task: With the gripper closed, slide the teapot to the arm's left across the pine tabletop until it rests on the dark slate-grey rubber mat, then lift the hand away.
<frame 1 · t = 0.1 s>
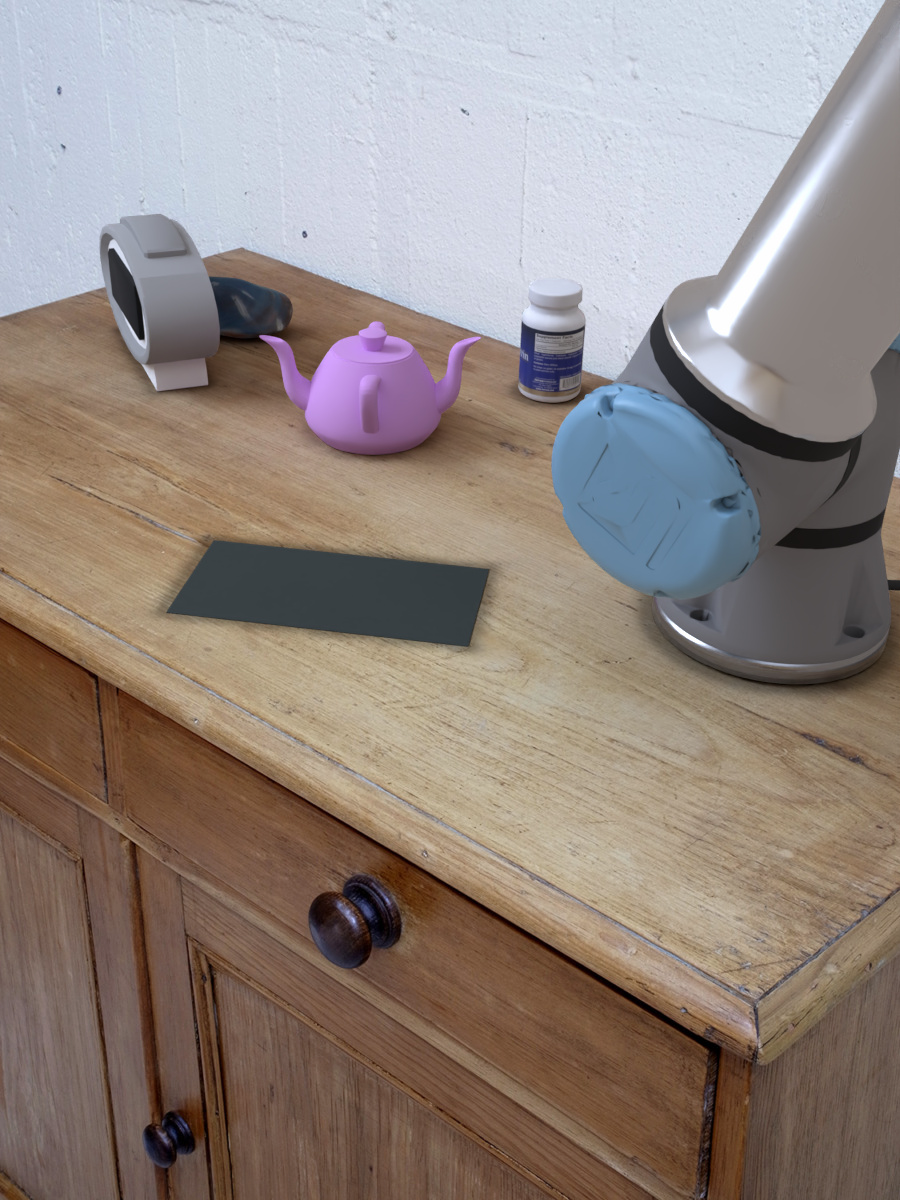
pill bottle: (548, 394, 120), on the cabinet
alarm clock: (161, 358, 125), on the cabinet
mat: (333, 592, 89), on the cabinet
teapot: (370, 433, 111), on the cabinet
seashell: (238, 332, 131), on the cabinet
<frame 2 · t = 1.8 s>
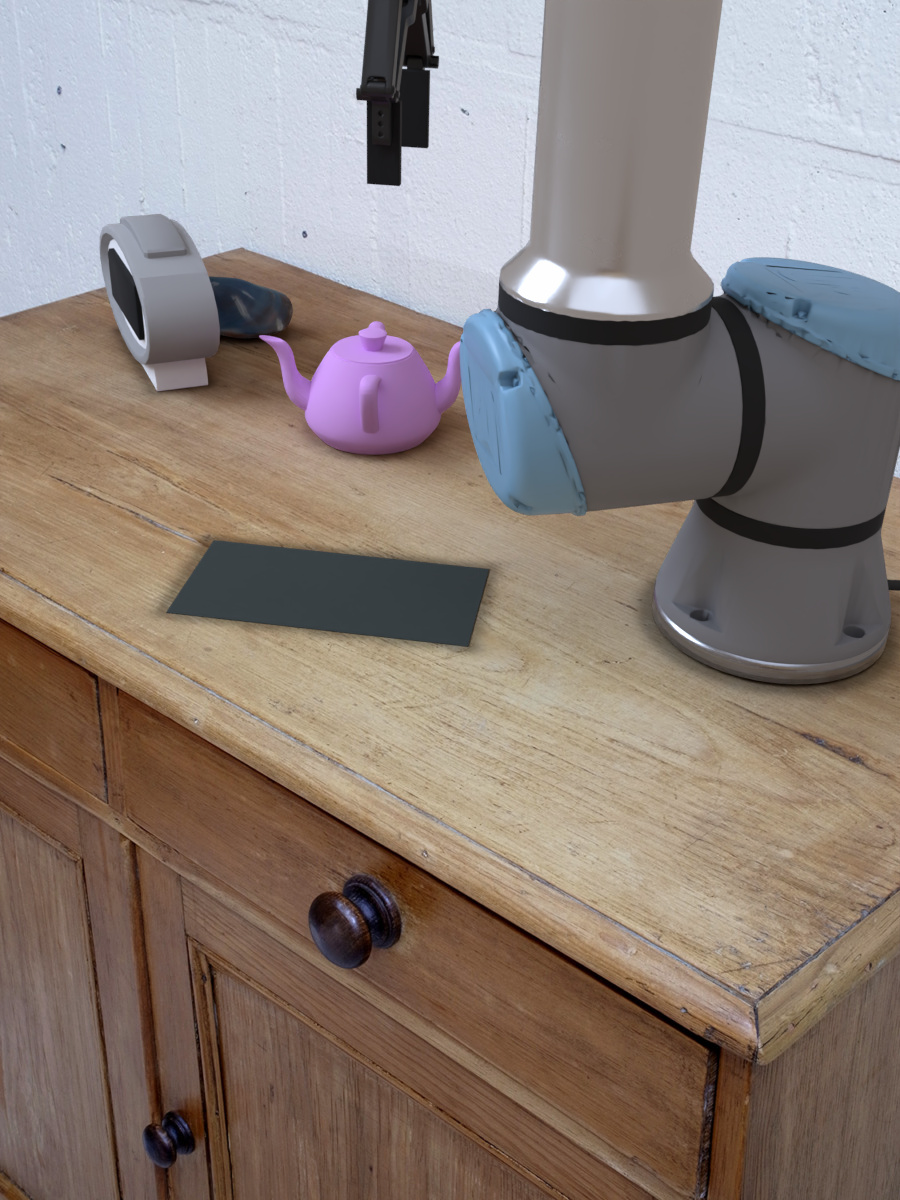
hand: (399, 164, 113), 19 cm above the cabinet, tool pointing down, fingers open, 13 cm apart
nothing on the cabinet moved.
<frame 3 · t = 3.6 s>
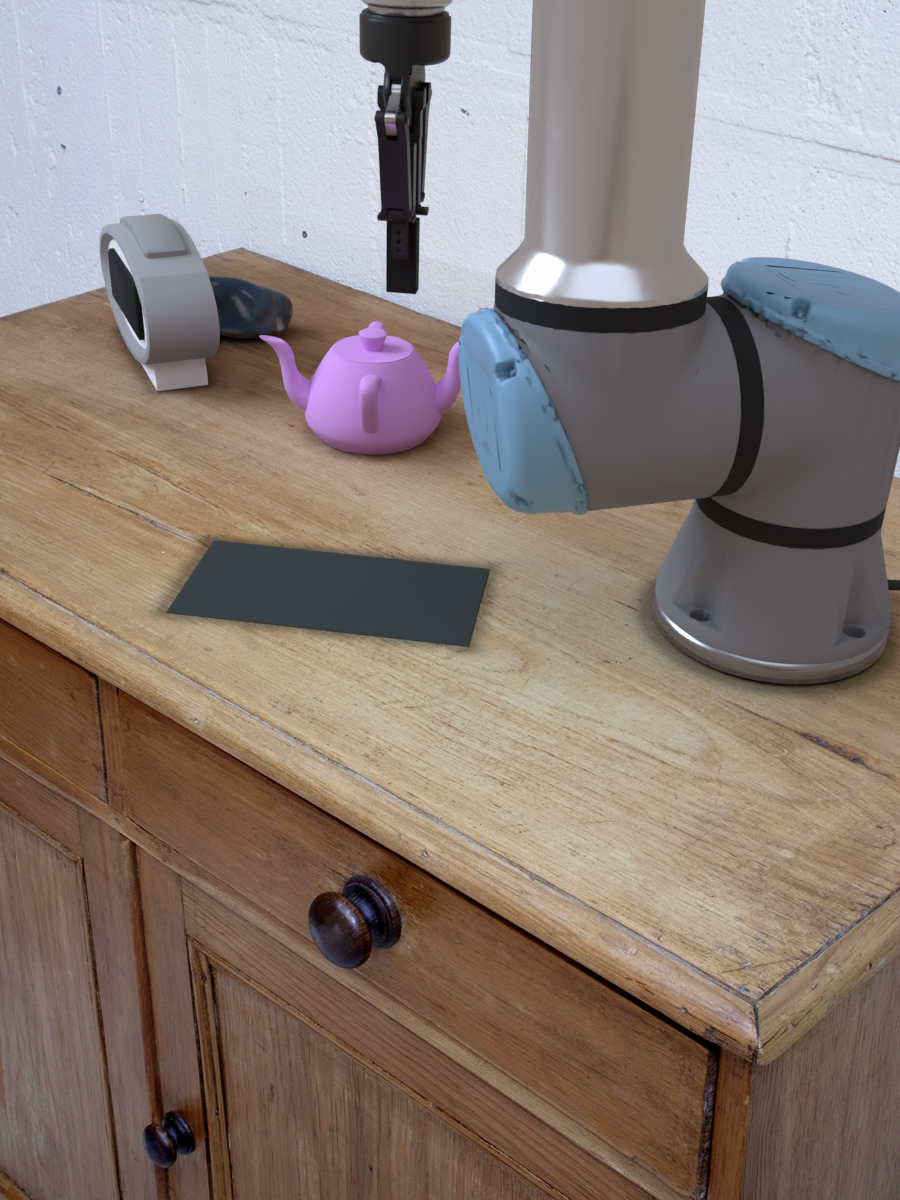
hand: (402, 290, 119), 8 cm above the cabinet, tool pointing down, fingers closed
nothing on the cabinet moved.
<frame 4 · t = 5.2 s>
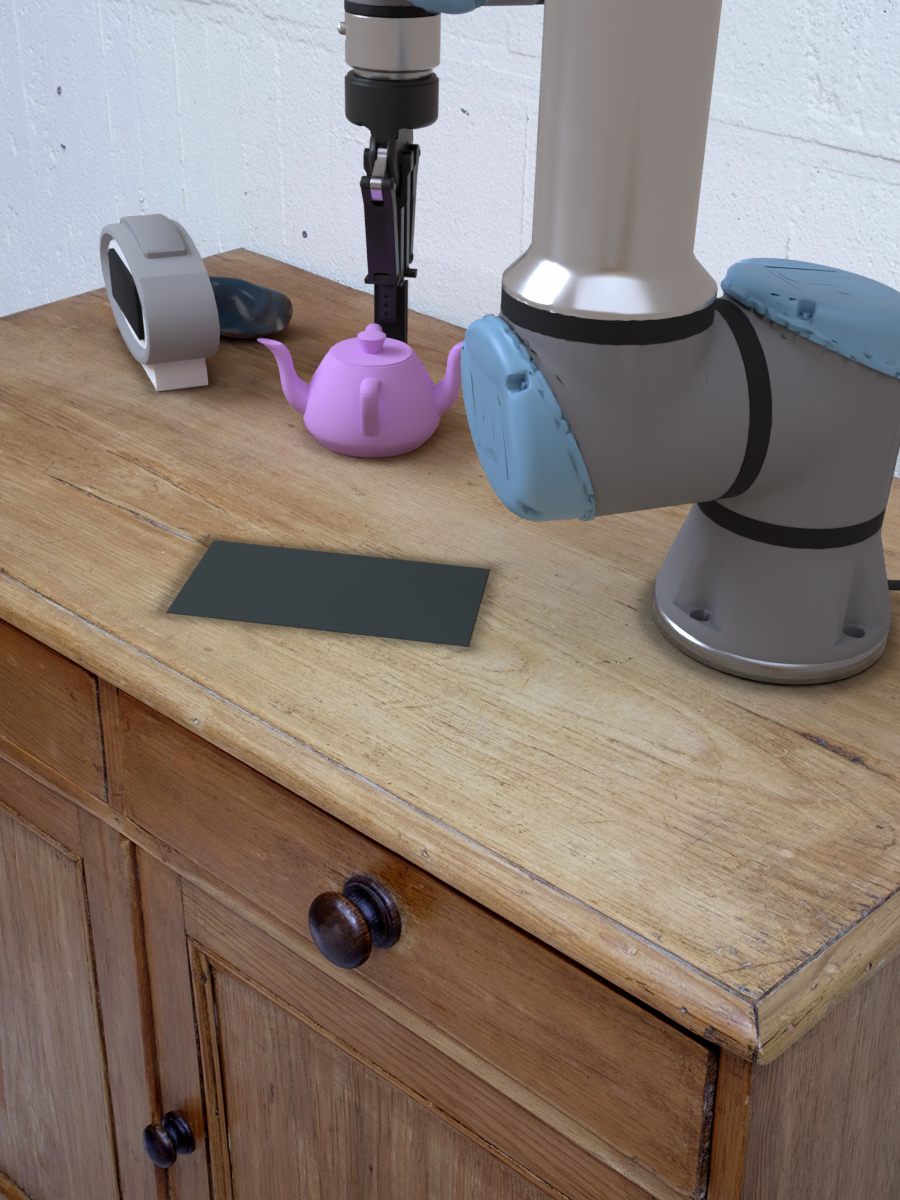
hand: (390, 353, 116), 4 cm above the cabinet, tool pointing down, fingers closed
teapot: (369, 436, 111), on the cabinet, touching gripper
everything else where it was.
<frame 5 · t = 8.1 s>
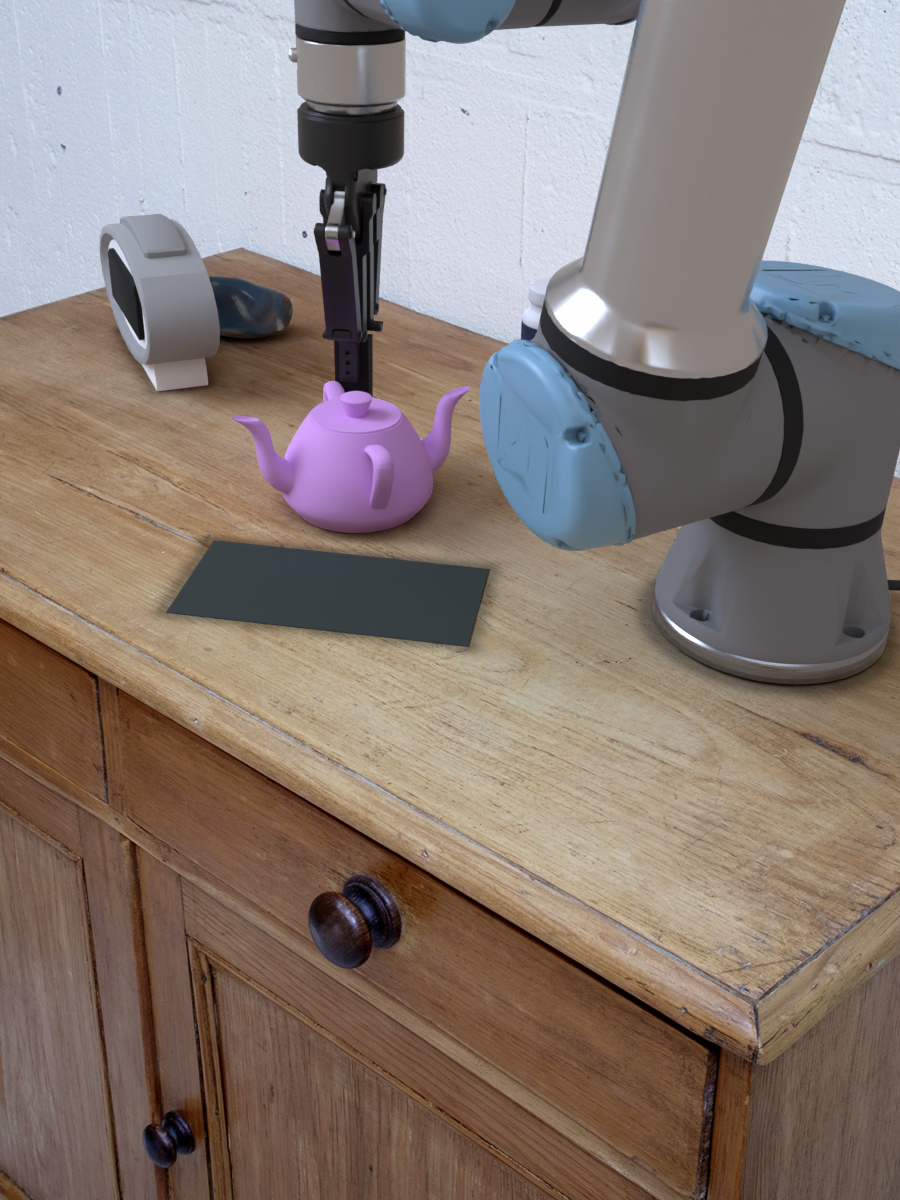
hand: (354, 413, 104), 4 cm above the cabinet, tool pointing down, fingers closed
teapot: (354, 506, 100), on the cabinet, touching gripper
everything else where it was.
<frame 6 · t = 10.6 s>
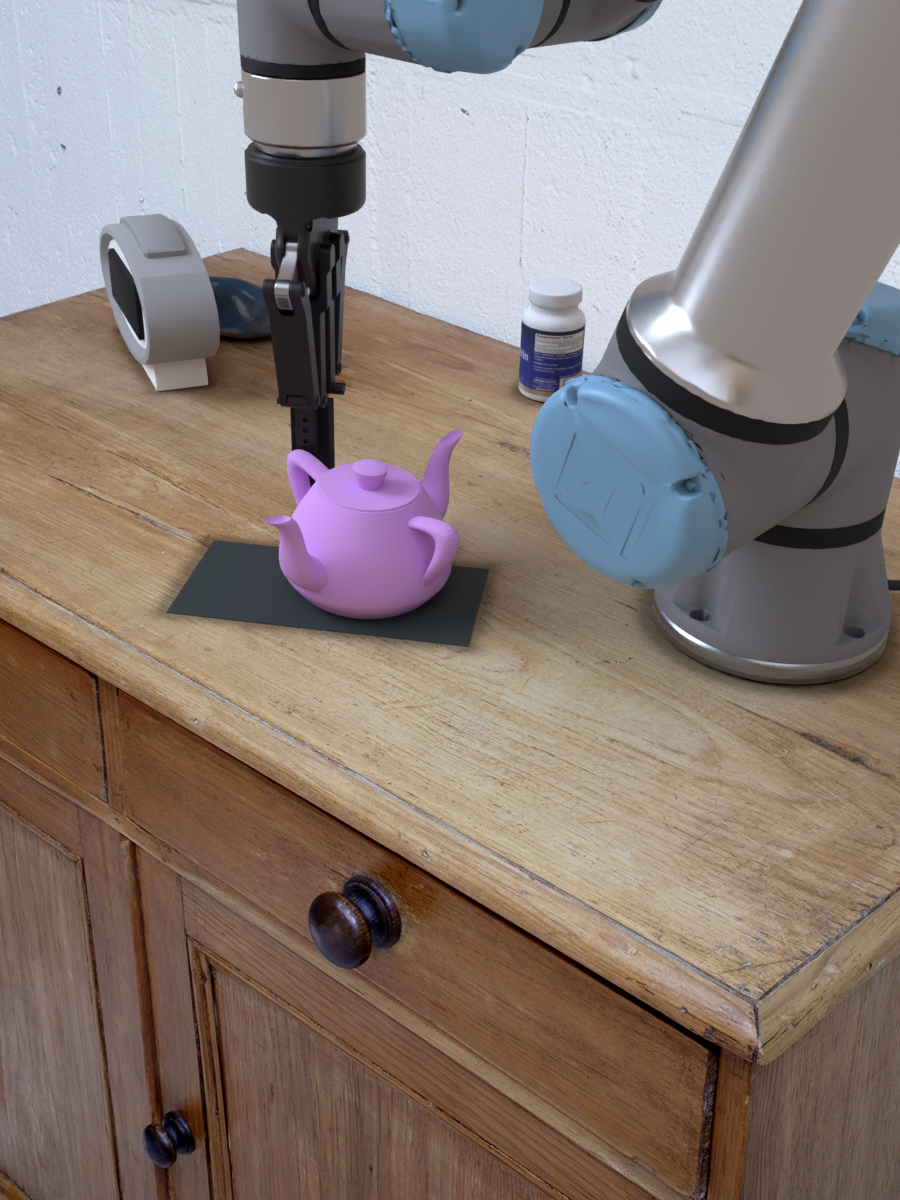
hand: (314, 484, 93), 4 cm above the cabinet, tool pointing down, fingers closed
teapot: (363, 584, 89), on the cabinet, touching gripper, mat
everything else where it was.
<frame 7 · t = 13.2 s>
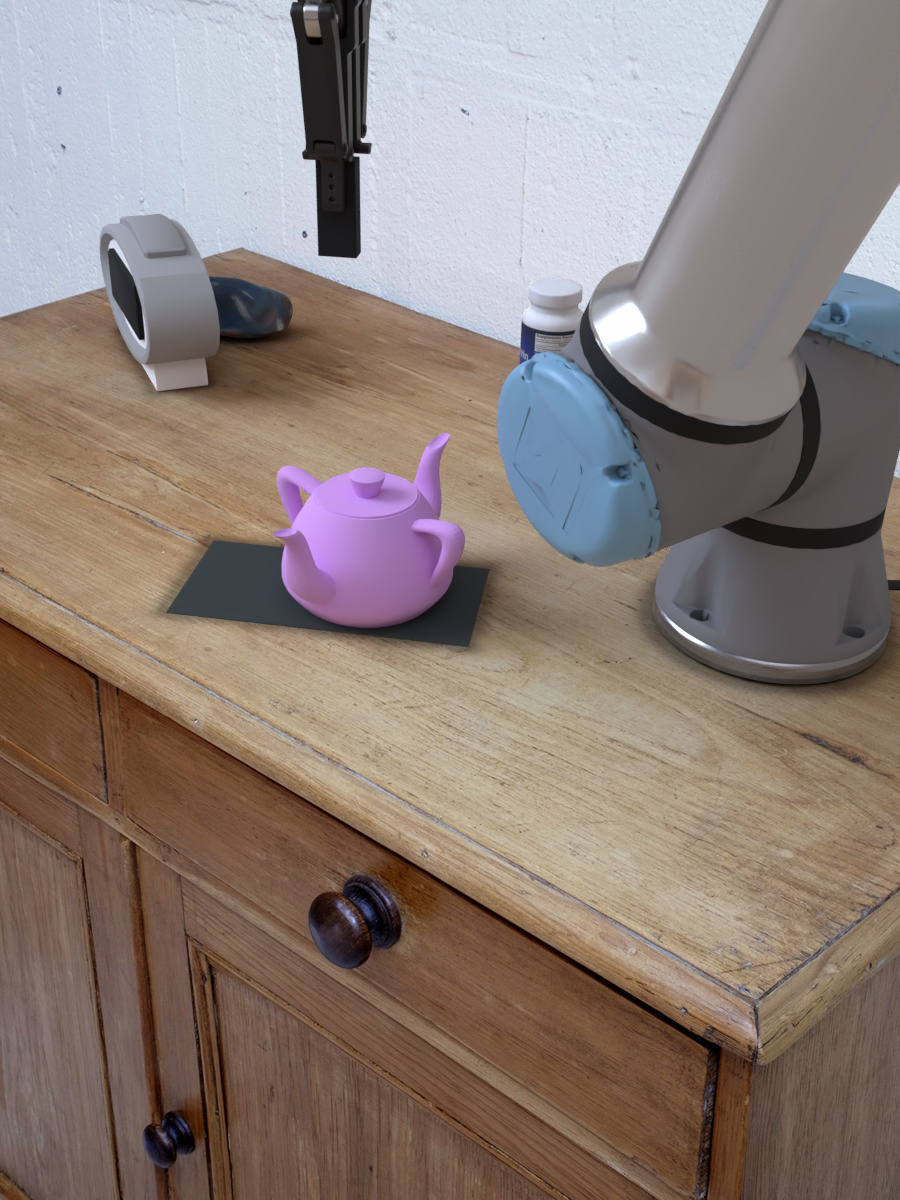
hand: (339, 253, 91), 19 cm above the cabinet, tool pointing down, fingers closed
teapot: (365, 594, 89), on the cabinet, touching mat
everything else where it was.
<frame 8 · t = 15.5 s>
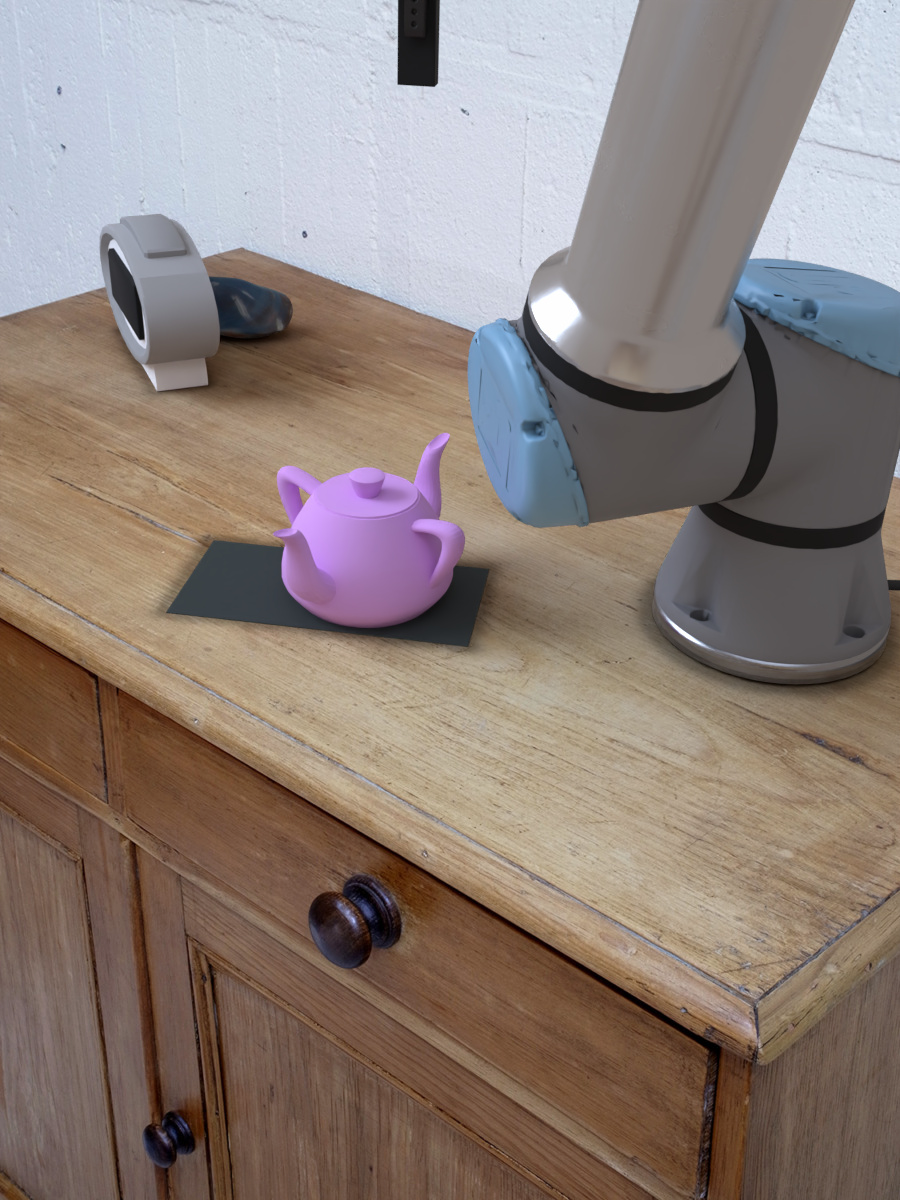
hand: (417, 83, 94), 28 cm above the cabinet, tool pointing down, fingers closed
nothing on the cabinet moved.
at the end: teapot inside the target area on the mat (2.2 cm from its centre), point 0.1 cm above the mat's base; teapot tilted 0°; teapot moved 26.4 cm from its start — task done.
